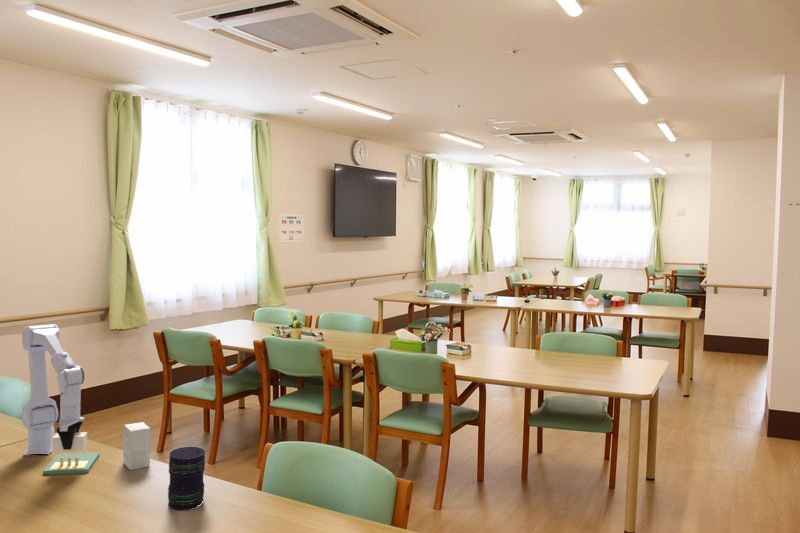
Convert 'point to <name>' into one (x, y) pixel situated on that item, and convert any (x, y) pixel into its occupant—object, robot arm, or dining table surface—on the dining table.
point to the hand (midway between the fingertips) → (69, 446)
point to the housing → (77, 444)
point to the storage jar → (186, 478)
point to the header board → (71, 463)
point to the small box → (136, 445)
